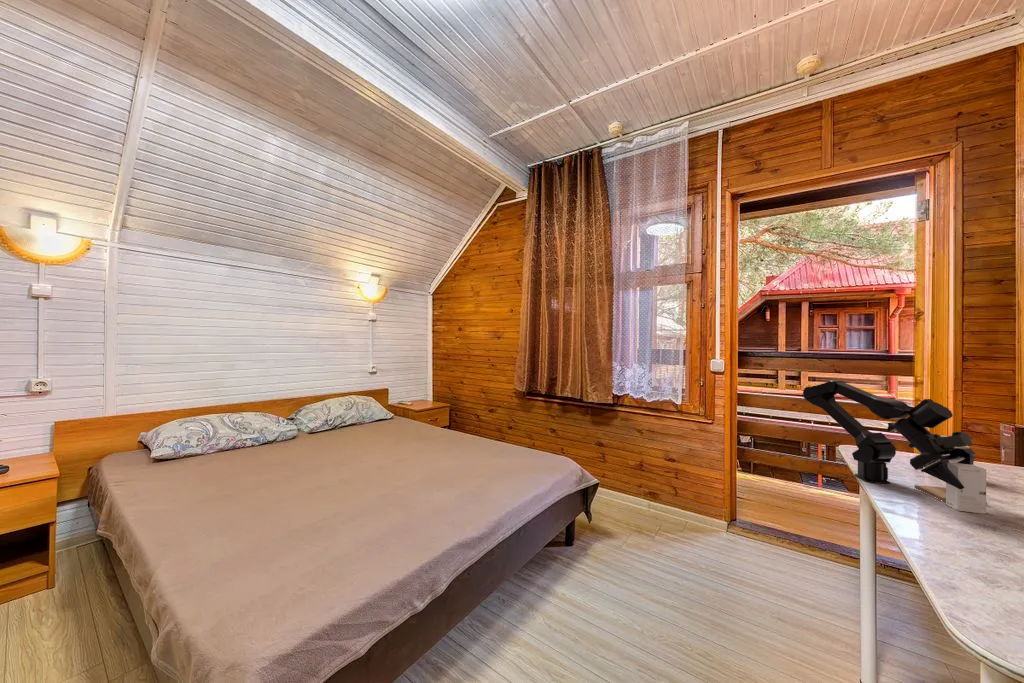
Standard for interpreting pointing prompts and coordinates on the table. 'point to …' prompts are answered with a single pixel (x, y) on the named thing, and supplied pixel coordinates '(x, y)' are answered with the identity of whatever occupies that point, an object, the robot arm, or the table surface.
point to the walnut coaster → (934, 491)
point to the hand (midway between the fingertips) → (973, 486)
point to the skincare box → (967, 488)
